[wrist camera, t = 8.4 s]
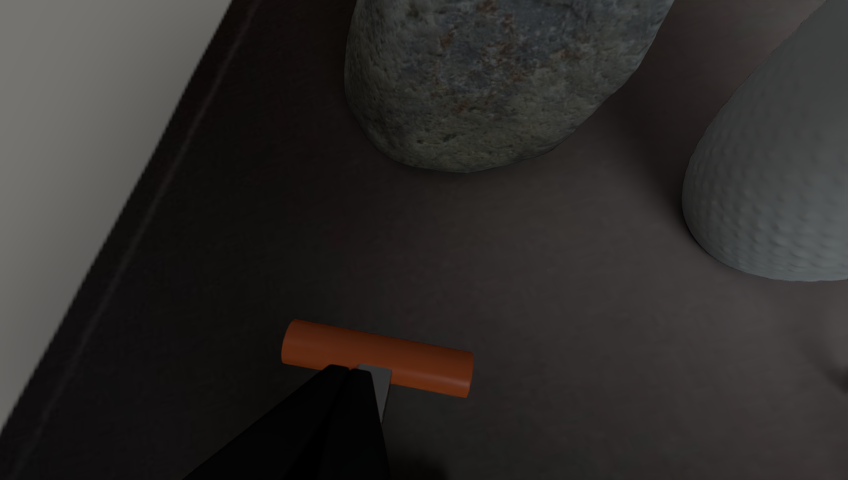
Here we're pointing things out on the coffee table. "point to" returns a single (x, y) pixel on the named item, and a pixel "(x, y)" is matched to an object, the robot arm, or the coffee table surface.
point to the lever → (379, 359)
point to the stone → (488, 74)
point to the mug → (780, 161)
